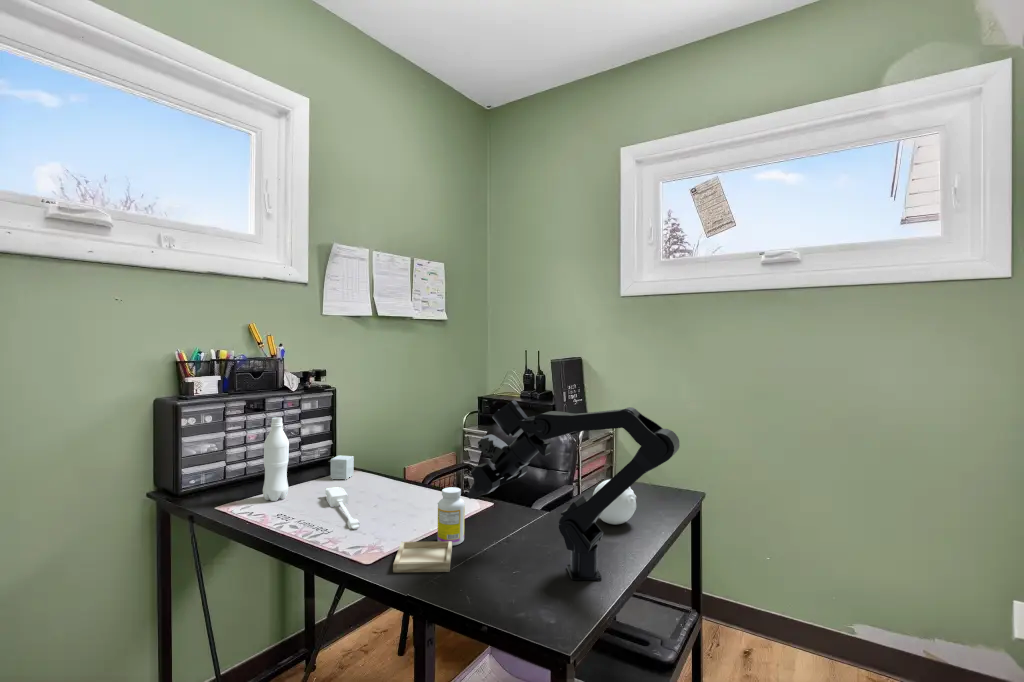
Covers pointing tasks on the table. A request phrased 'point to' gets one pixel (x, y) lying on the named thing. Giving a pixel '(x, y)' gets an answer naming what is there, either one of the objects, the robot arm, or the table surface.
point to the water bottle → (276, 462)
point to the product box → (342, 467)
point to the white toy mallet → (341, 504)
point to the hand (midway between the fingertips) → (479, 492)
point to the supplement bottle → (451, 516)
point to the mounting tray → (423, 557)
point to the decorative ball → (618, 506)
